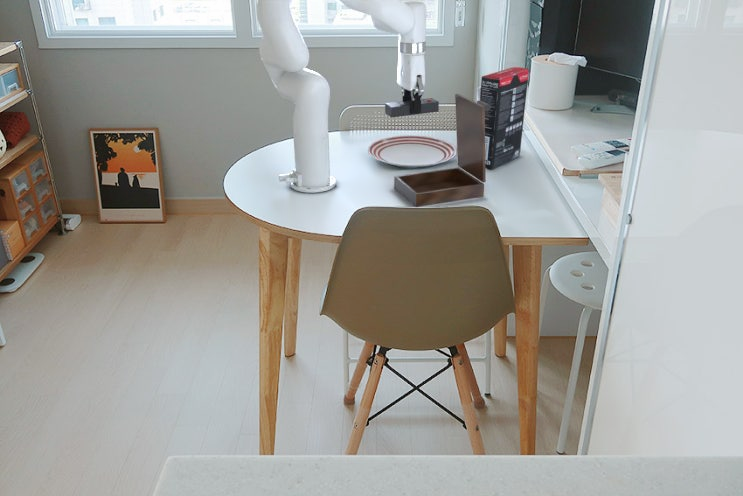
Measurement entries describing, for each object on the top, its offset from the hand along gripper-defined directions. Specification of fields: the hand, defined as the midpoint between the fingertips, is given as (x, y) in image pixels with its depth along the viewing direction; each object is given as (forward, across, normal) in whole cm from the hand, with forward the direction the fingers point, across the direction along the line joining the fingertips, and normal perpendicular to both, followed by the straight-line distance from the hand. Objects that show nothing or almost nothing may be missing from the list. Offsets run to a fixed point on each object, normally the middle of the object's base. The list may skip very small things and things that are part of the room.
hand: (411, 110), depth 207 cm
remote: (+1, 0, 0) cm, 1 cm away
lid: (+1, +27, +5) cm, 28 cm away
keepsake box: (+16, +27, -4) cm, 32 cm away
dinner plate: (+16, -4, +2) cm, 17 cm away
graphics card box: (+17, +9, +25) cm, 31 cm away
